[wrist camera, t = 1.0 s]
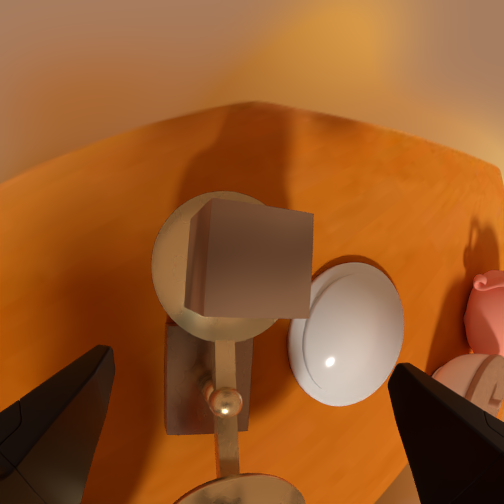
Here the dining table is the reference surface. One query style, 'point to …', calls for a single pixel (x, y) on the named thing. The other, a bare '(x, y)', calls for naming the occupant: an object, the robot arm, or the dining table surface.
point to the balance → (209, 370)
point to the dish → (347, 334)
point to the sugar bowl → (486, 314)
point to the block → (249, 261)
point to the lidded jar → (475, 379)
